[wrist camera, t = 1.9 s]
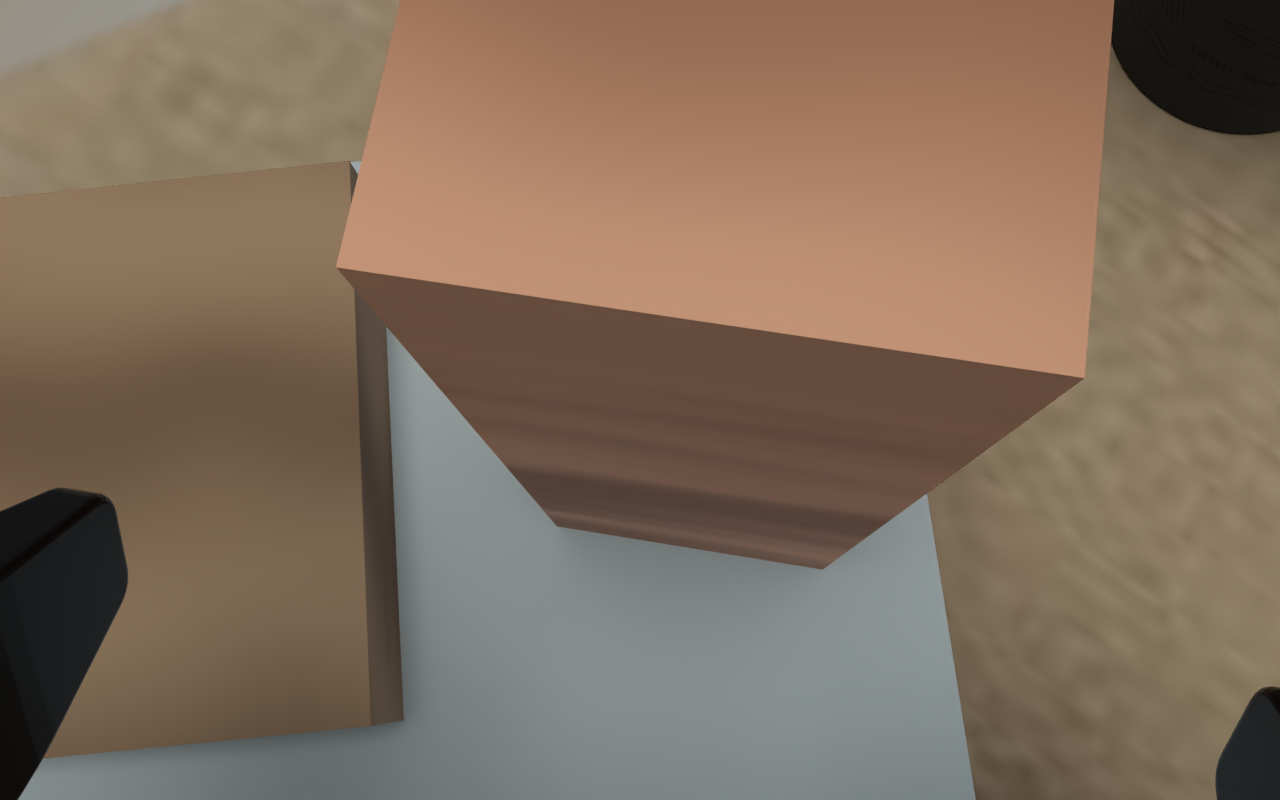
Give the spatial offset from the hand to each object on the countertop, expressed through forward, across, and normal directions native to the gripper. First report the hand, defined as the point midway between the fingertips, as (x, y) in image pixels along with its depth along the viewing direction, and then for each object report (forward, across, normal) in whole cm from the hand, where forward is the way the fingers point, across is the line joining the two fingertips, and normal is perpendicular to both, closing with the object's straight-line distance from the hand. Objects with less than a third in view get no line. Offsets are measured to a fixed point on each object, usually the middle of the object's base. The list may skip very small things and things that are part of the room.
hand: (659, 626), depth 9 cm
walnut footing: (+8, +10, +6) cm, 14 cm away
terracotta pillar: (+10, 0, +4) cm, 11 cm away
